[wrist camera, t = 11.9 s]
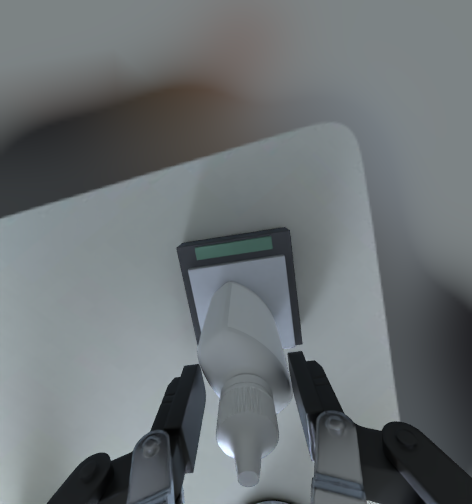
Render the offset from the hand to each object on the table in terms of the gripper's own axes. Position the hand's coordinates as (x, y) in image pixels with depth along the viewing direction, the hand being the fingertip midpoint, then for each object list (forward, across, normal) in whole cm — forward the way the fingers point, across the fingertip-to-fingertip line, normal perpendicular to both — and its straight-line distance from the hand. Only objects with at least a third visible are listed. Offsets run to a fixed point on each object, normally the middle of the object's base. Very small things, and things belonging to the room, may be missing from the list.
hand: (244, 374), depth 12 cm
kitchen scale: (+10, 0, -1) cm, 10 cm away
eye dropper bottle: (+8, 0, 0) cm, 8 cm away
